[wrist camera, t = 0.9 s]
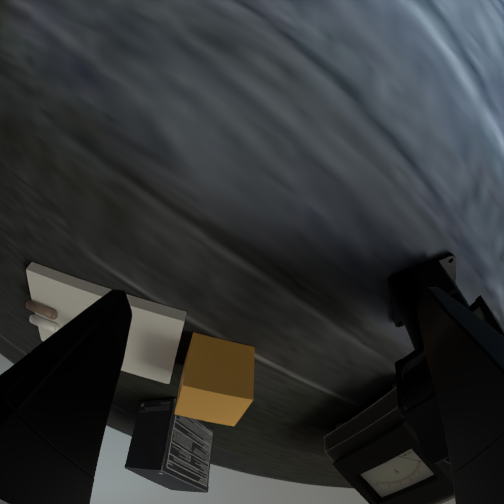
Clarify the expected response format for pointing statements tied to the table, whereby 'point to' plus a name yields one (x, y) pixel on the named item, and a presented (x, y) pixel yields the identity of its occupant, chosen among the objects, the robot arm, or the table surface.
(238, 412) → the mustard yellow cube
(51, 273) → the plate
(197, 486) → the small box
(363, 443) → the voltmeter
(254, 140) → the table surface
